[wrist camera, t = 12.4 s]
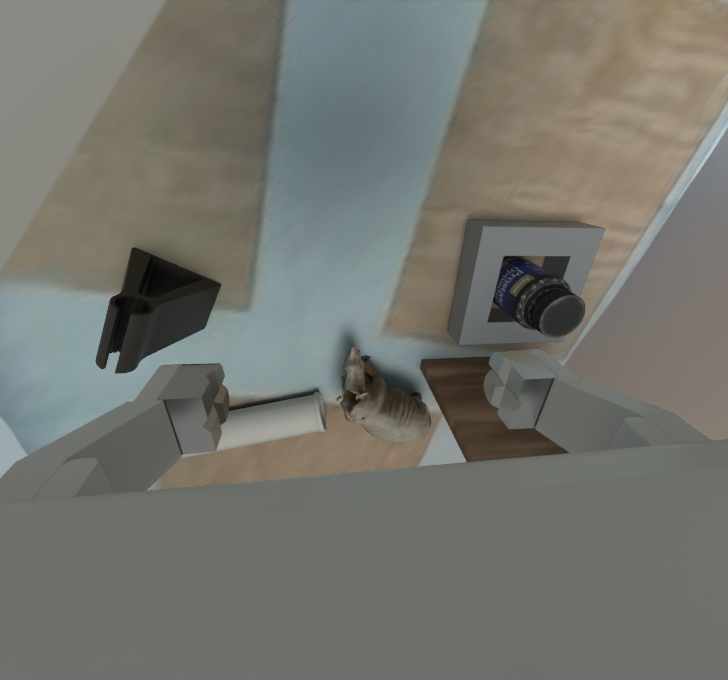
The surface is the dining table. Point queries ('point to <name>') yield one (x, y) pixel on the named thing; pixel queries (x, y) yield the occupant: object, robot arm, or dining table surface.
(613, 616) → the robot arm
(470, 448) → the wood grain plank
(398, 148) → the dining table surface
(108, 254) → the dining table surface
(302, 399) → the tube
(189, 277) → the phone stand
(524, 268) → the pill bottle
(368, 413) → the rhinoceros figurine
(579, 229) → the socket block
